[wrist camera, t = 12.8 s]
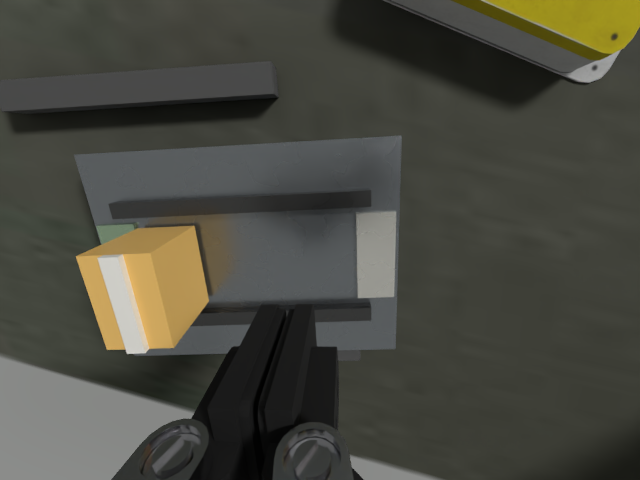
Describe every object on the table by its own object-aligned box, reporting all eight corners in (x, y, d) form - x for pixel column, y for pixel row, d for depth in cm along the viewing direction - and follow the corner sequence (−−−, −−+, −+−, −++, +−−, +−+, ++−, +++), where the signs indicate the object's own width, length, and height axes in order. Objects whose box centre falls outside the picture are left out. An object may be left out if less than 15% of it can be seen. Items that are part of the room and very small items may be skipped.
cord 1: (275, 68, 15) (270, 61, 14) (278, 97, 16) (274, 93, 15) (18, 85, 16) (-10, 80, 15) (28, 113, 16) (2, 111, 15)
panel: (391, 136, 16) (404, 135, 13) (387, 324, 20) (397, 355, 17) (109, 152, 17) (63, 155, 14) (156, 331, 21) (128, 362, 18)
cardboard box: (194, 225, 15) (145, 256, 11) (209, 301, 17) (170, 352, 13) (137, 228, 15) (69, 259, 11) (157, 302, 17) (102, 354, 13)
